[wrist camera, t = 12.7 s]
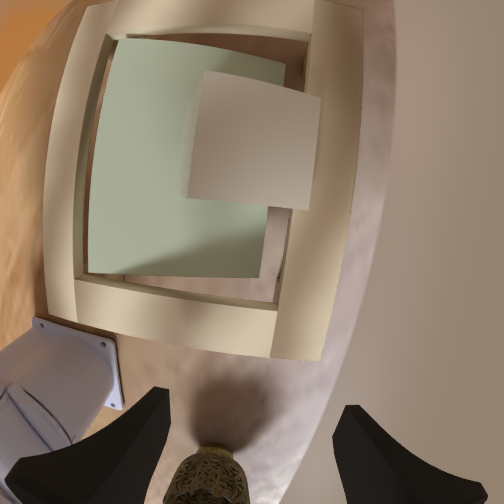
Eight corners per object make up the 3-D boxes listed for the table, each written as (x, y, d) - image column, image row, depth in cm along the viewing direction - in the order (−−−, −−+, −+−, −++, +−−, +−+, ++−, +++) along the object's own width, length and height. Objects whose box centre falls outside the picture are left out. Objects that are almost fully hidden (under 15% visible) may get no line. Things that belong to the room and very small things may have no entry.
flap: (91, 256, 15) (79, 272, 13) (115, 60, 13) (110, 37, 10) (241, 262, 19) (258, 278, 16) (264, 80, 16) (285, 64, 13)
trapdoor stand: (101, 279, 20) (48, 314, 13) (129, 48, 16) (87, 6, 10) (300, 307, 20) (319, 361, 13) (331, 59, 17) (362, 9, 10)
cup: (257, 433, 23) (257, 501, 15) (248, 472, 24) (246, 531, 17) (177, 422, 23) (157, 487, 15) (180, 463, 24) (166, 519, 17)
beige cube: (176, 192, 13) (187, 198, 9) (188, 102, 12) (205, 70, 8) (264, 201, 15) (308, 210, 11) (274, 117, 14) (321, 98, 10)
